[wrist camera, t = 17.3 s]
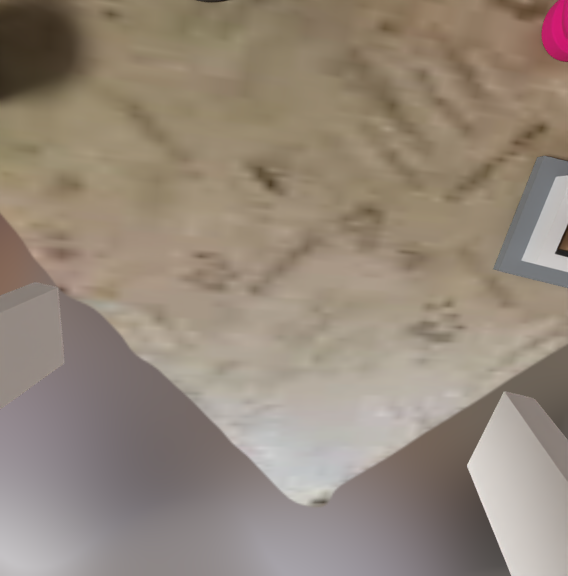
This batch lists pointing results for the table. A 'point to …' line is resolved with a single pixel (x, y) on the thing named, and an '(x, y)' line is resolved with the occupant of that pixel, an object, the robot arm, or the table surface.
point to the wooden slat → (564, 241)
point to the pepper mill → (556, 31)
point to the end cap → (539, 226)
